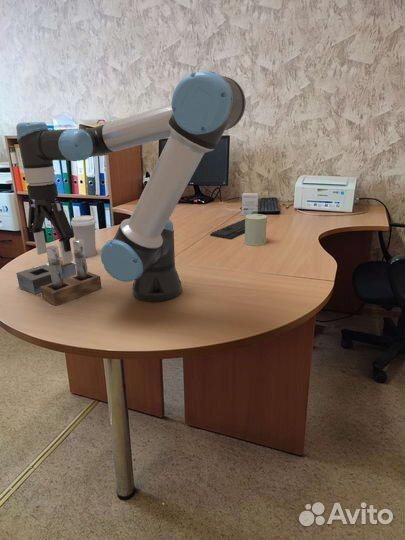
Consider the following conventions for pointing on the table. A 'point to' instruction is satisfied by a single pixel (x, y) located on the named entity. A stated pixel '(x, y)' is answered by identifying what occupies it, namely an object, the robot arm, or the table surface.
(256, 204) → the ink box
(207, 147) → the robot arm
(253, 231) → the can
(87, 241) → the coffee cup
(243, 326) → the table surface
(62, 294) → the rack
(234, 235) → the dark grey ribbed block
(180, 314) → the table surface
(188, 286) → the table surface
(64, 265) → the yellow piece
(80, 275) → the test tube
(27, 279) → the block
